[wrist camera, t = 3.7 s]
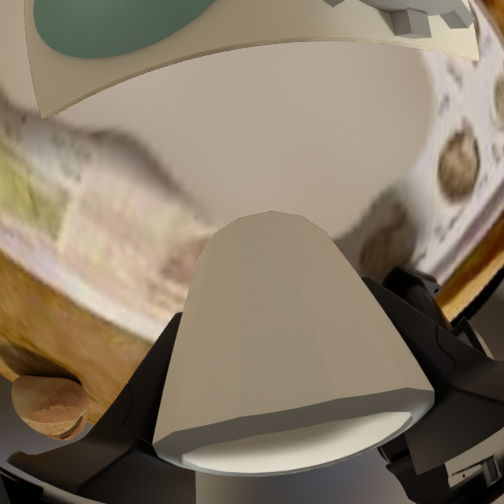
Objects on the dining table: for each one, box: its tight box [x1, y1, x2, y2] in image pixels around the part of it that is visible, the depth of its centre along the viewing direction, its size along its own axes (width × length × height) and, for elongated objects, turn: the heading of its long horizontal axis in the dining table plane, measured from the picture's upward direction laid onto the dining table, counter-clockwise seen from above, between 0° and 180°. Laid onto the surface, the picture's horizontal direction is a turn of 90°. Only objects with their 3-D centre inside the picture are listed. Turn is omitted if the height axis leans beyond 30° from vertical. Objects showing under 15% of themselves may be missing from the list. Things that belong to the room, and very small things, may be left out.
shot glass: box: [152, 211, 434, 477], centre depth 8 cm, size 7×7×7 cm
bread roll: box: [12, 375, 89, 440], centre depth 23 cm, size 10×15×8 cm, turn 110°
